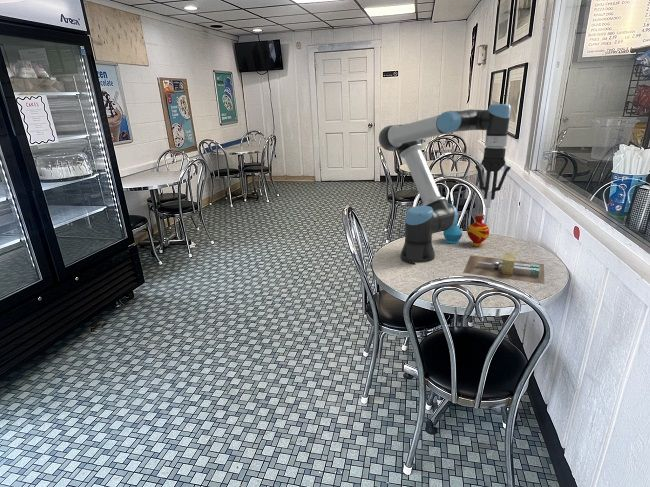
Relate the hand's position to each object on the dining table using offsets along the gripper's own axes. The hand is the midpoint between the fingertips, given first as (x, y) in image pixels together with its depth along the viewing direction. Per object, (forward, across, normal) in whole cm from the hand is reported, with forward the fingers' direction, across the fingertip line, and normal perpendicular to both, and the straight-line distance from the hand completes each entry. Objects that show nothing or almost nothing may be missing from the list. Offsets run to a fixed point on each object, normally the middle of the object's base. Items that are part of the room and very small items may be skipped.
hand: (488, 207), depth 157 cm
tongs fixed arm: (+25, +10, -4) cm, 27 cm away
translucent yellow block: (+25, +10, -3) cm, 27 cm away
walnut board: (+26, +9, -1) cm, 27 cm away
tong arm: (+25, +13, -2) cm, 28 cm away
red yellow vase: (+27, -6, +29) cm, 40 cm away
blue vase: (+27, -18, +30) cm, 44 cm away
